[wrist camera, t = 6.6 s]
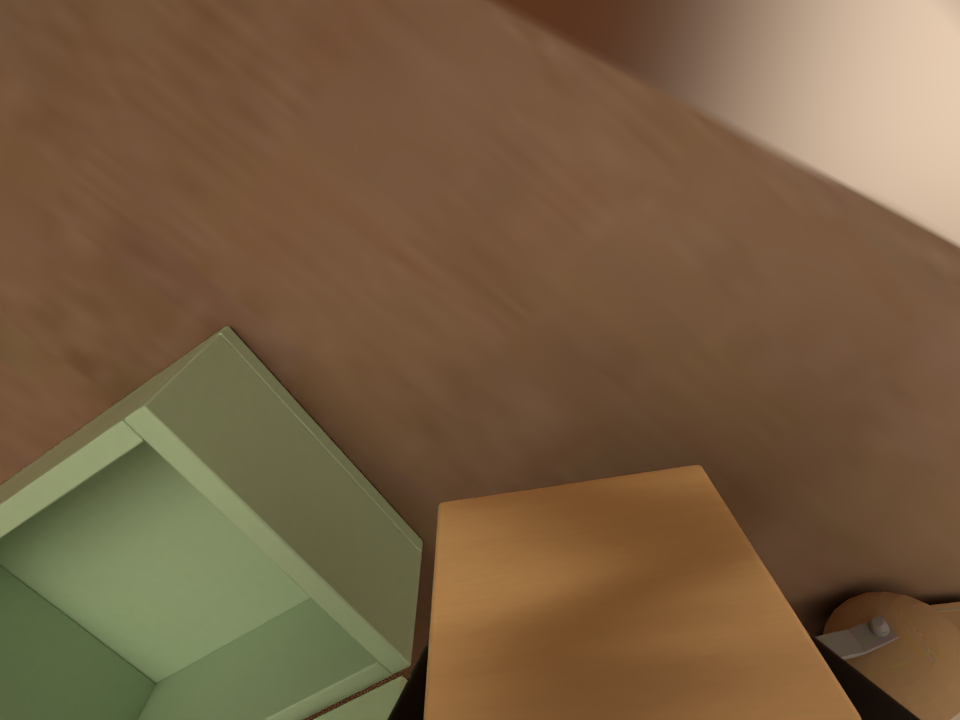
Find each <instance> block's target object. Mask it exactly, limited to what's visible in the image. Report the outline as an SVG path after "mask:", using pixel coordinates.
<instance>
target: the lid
mask: <svg viewBox="0 0 960 720" xmlns="http://www.w3.org/2000/svg"><path fill="white" fill-rule="evenodd" d="M406 682H407V679H405V678H404V677H403V676H400V677H398V678H396V679H394V680H392V681H390V682H388V683H386V684H384V685H382V686H380V687H378V688H376V689H374V690H372V691H370V692H368V693H365V694H363V695H361V696H359V697H357V698H355V699H353V700H351V701H349V702H347V703H345V704H343V705H341V706H339V707H337V708H335V709H333V710H331V711H329V712H327V713H325V714H323V715H321V716H319V717H317V718H315V719H313V720H387V719H388V717H389V715H390V713H391V711H392V709H393V707H394V706H395V704H396V702H397V700H398V698H399V696H400V694H401V692H402V690H403V688H404V686H405V684H406Z"/></svg>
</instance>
